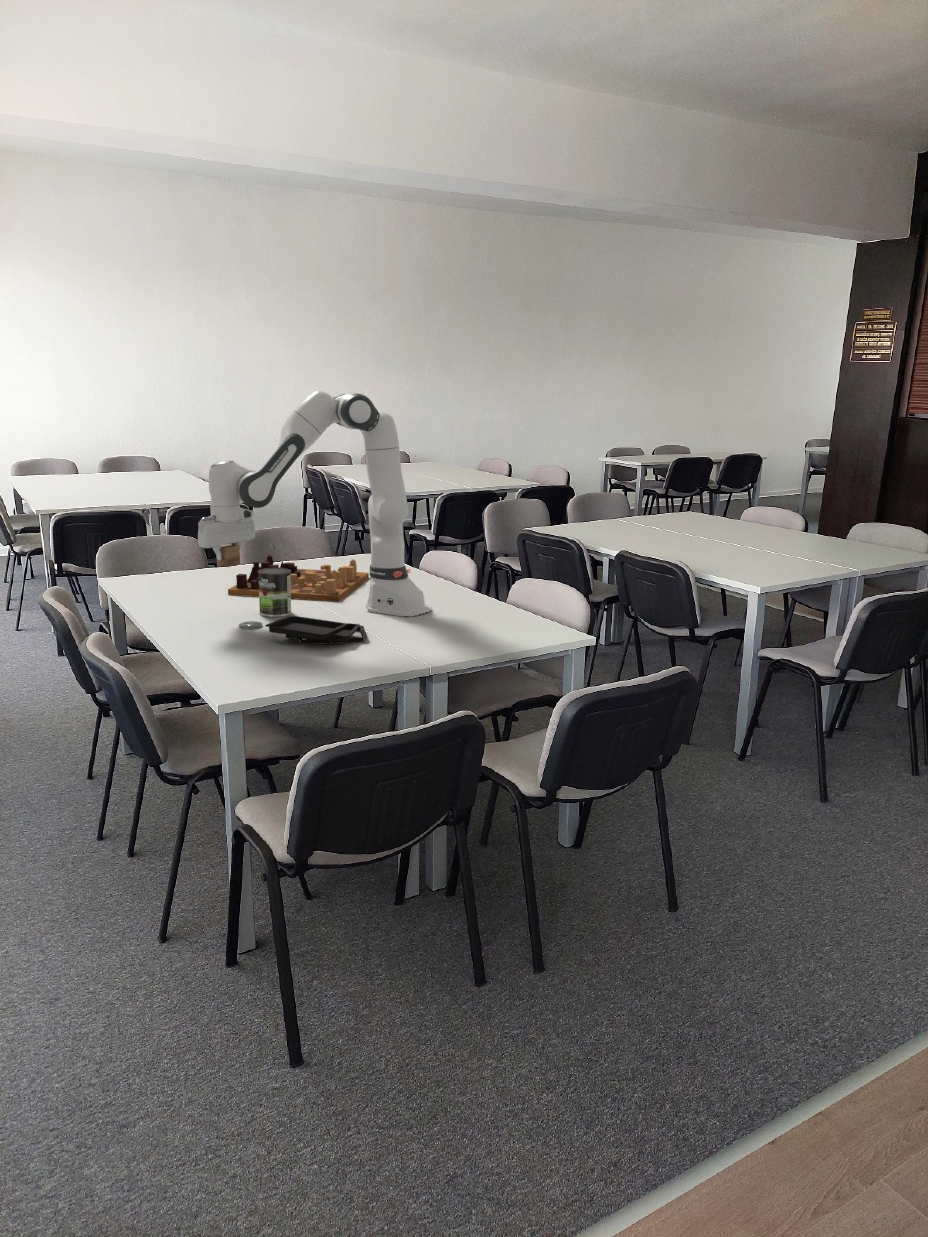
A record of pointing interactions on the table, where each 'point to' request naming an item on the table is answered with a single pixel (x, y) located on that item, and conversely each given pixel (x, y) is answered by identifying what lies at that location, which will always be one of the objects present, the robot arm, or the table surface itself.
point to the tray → (317, 630)
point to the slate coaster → (250, 625)
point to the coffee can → (274, 592)
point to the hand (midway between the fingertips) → (228, 557)
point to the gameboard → (306, 581)
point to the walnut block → (229, 555)
